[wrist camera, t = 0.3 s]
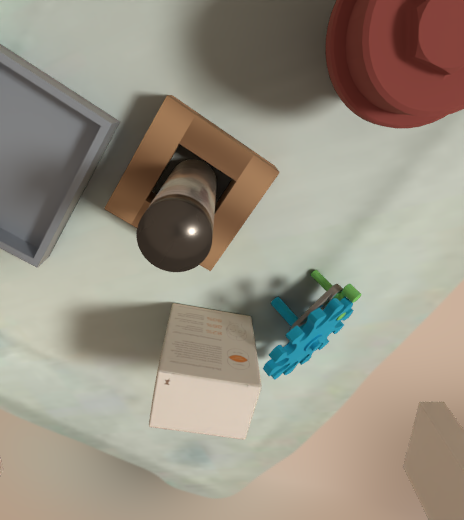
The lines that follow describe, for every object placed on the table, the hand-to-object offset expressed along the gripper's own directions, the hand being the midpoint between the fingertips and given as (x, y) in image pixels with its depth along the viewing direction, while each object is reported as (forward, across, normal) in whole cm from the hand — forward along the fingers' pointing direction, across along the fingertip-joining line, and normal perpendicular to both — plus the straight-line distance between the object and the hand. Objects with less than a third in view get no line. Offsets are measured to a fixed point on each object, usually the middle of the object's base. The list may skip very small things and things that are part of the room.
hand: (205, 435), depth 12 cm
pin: (+25, -2, +3) cm, 25 cm away
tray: (+25, -16, +5) cm, 30 cm away
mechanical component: (+25, +12, +13) cm, 30 cm away
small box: (+25, -1, -12) cm, 28 cm away
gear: (+25, +9, -10) cm, 28 cm away
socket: (+25, -2, +3) cm, 25 cm away
